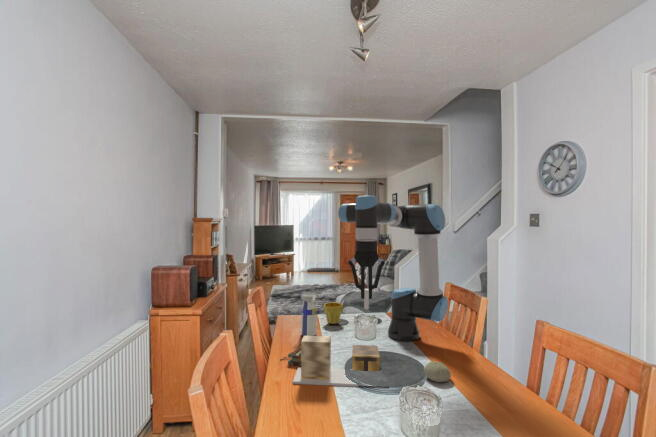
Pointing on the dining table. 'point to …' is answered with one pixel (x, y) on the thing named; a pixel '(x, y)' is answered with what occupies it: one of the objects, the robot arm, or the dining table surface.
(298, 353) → the decorative book
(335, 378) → the felt mat
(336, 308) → the plant pot
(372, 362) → the walnut block
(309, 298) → the water bottle
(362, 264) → the robot arm
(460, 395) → the dining table surface
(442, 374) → the sea urchin shell
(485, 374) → the dining table surface
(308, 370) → the oak block
